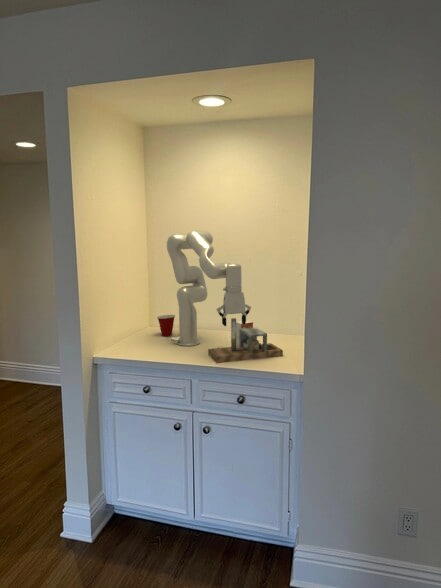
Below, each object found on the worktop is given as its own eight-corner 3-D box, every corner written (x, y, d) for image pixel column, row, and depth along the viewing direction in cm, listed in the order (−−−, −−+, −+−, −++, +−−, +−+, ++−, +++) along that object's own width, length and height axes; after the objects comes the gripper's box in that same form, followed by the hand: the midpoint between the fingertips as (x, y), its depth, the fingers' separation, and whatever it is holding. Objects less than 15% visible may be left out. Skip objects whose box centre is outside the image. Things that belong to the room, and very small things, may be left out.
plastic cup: (164, 332, 261) (164, 313, 259) (179, 334, 255) (178, 314, 254) (153, 336, 252) (152, 316, 250) (168, 338, 246) (167, 318, 244)
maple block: (250, 350, 209) (250, 341, 209) (246, 348, 214) (246, 339, 213) (258, 349, 211) (258, 340, 210) (255, 347, 215) (255, 338, 214)
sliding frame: (233, 352, 205) (233, 320, 203) (228, 348, 212) (228, 317, 210) (262, 349, 210) (262, 318, 207) (256, 345, 217) (256, 315, 214)
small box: (240, 347, 225) (241, 323, 223) (234, 345, 231) (233, 321, 229) (253, 345, 230) (253, 321, 228) (246, 343, 235) (246, 319, 233)
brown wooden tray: (216, 363, 200) (216, 338, 198) (208, 354, 213) (207, 331, 211) (282, 356, 210) (283, 332, 208) (270, 348, 223) (271, 326, 221)
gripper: (218, 291, 199) (219, 327, 201) (253, 289, 204) (253, 324, 206) (214, 289, 206) (214, 324, 208) (247, 287, 211) (248, 322, 213)
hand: (234, 324), depth 207 cm, fingers open, 9 cm apart
